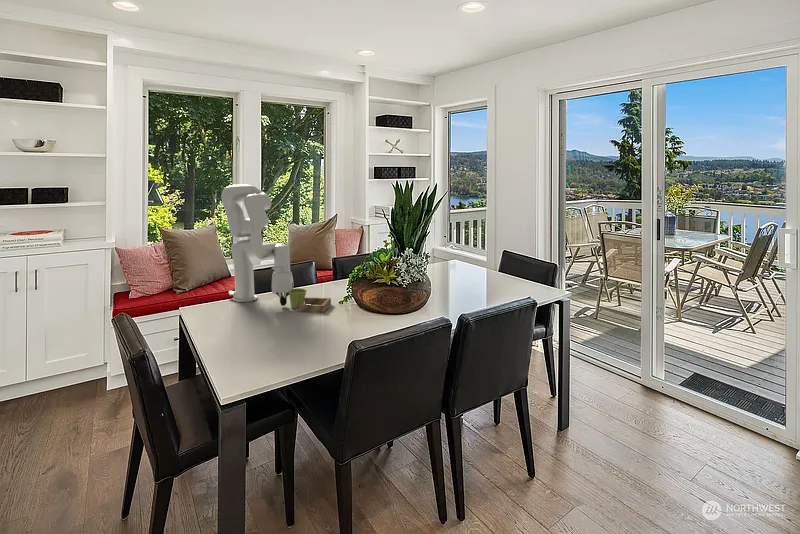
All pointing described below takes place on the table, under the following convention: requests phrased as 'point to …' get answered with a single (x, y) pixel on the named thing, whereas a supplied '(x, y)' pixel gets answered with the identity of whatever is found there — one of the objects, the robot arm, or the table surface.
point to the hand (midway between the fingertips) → (283, 304)
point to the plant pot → (297, 297)
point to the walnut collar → (314, 305)
